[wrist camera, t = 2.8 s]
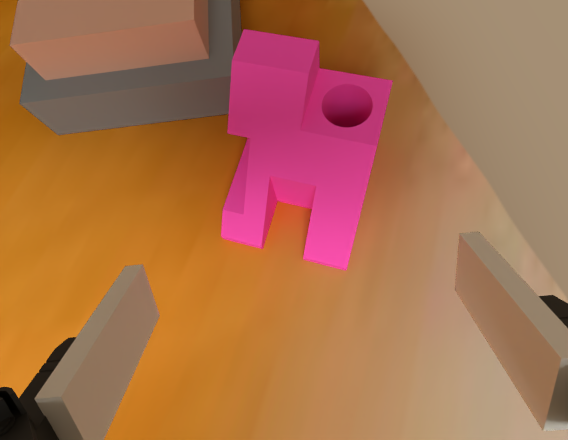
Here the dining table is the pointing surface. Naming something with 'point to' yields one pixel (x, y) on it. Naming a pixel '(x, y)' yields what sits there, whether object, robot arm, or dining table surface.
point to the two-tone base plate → (125, 60)
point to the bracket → (300, 143)
